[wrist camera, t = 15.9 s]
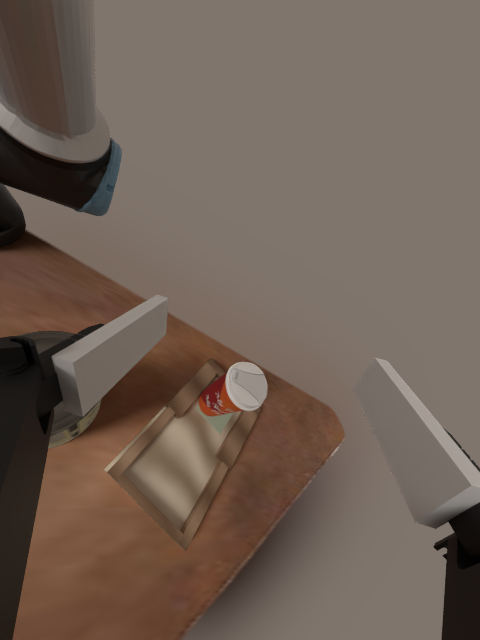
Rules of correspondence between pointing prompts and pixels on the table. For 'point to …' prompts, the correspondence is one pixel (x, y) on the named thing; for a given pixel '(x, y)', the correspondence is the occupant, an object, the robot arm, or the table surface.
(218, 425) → the seat pad
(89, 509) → the table surface
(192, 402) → the keyhole slot
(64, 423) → the coffee can
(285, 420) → the table surface
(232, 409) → the paper cup
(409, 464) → the robot arm
